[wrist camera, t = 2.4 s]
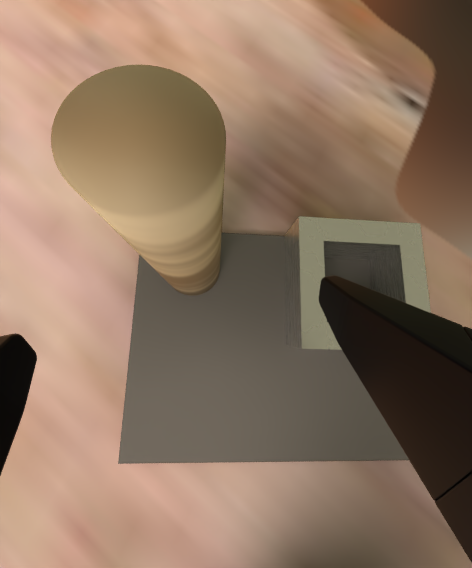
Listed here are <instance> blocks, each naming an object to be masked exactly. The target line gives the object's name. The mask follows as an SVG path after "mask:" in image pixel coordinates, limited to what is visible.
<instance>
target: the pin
mask: <svg viewBox="0 0 472 568" xmlns="http://www.w3.org/2000/svg"><path fill="white" fill-rule="evenodd" d="M51 146H52V152H53V156H54V160H55V162H56V165H57V167H58V169H59V171H60V172H61V174H62V176H63V177H64V179H65V180H66V181H67V182H68V184H69V185H70V186H71V187H72V188H73V189H74V190H75V191H76V192H77V193H78V194H79V195H80V196H81V197H82V198H83V199H84V200H85V201H86V202H87V203H88V204H89V205H90V206H91V207H92V208H93V209H94V210H95V211H96V212H97V213H98V214H99V215H100V216H101V217H102V218H103V219H104V220H105V221H106V222H107V223H108V224H109V225H110V226H111V227H112V228H113V229H114V230H115V231H116V232H117V233H118V234H120V235H121V236H122V237H123V238H124V239H125V240H126V241H127V242H128V243H129V244H130V245H131V246H132V247H133V248H134V249H135V250H136V251H137V252H138V253H139V254H140V255H141V256H142V257H143V258H144V259H145V260H146V261H147V262H148V263H149V264H150V265H151V266H152V267H153V268H154V269H155V270H156V271H157V272H158V273H159V274H160V275H161V276H162V277H163V278H164V279H165V280H166V281H167V282H168V283H169V284H170V285H171V286H172V287H173V288H174V289H175V290H176V291H178V292H180V293H182V294H185V295H190V296H195V295H200V294H203V293H205V292H207V291H209V290H210V289H211V288H212V287H213V286H214V285H215V283H216V282H217V280H218V277H219V272H220V254H221V233H222V212H223V191H224V170H225V149H226V132H225V126H224V122H223V119H222V116H221V113H220V111H219V109H218V107H217V105H216V104H215V102H214V101H213V99H212V98H211V97H210V96H209V95H208V93H207V92H206V91H205V90H204V89H203V88H201V87H200V86H199V85H198V84H197V83H195V82H194V81H192V80H191V79H189V78H188V77H186V76H184V75H182V74H180V73H177V72H175V71H172V70H170V69H166V68H162V67H157V66H151V65H127V66H121V67H115V68H112V69H108V70H105V71H103V72H100V73H98V74H96V75H94V76H92V77H90V78H88V79H87V80H85V81H84V82H82V83H81V84H79V85H78V86H77V87H76V88H75V89H74V90H73V91H72V92H71V93H70V94H69V95H68V96H67V97H66V99H65V100H64V101H63V103H62V104H61V106H60V108H59V109H58V112H57V114H56V116H55V119H54V123H53V126H52V134H51Z"/></svg>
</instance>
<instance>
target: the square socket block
mask: <svg viewBox="0 0 472 568" xmlns="http://www.w3.org/2000/svg"><path fill="white" fill-rule="evenodd" d="M284 246H285V334H286V345H287V346H291V347H296V348H300V349H335V350H342V349H341V347H340V346H339V344H338V342H337V340H336V338H335V336H334V334H333V332H332V330H331V327H330V325H329V323H328V322H327V319H326V317H325V315H324V313H323V310H322V308H321V306H320V304H319V290H320V284H321V280H322V278H323V277H325V264H324V258H344V259H365V260H368V263H369V276H370V289H372V290H374V291H377V292H379V293H382V294H384V295H387V296H389V297H392V298H394V299H397V300H399V301H402V302H404V303H407V304H409V305H412V306H415V307H417V308H420V309H422V310H425V311H427V312H430V313H431V311H430V302H429V294H428V285H427V277H426V269H425V260H424V252H423V244H422V235H421V227H420V224H419V223H402V222H385V221H369V220H352V219H335V218H319V217H302V216H299V217H298V218H297V219H296V221H295V222H294V224H293V225H292V226H291V228H290V229H289V231H288V232H287V233H286V235H285V236H284Z"/></svg>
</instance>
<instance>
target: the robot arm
mask: <svg viewBox="0 0 472 568" xmlns="http://www.w3.org/2000/svg"><path fill="white" fill-rule="evenodd" d="M319 304H320V306H321V308H322V310H323V313H324V315H325V317H326V319H327V321H328V323H329V325H330V327H331V330H332V332H333V334H334V336H335V338H336V340H337V342H338V344H339V346H340V347H341V349H342V351H343V353H344V354H345V356H346V357H347V359H348V361H349V362H350V364H351V366H352V367H353V369H354V371H355V372H356V374H357V375H358V377H359V379H360V380H361V382H362V384H363V385H364V387H365V388H366V390H367V392H368V393H369V395H370V397H371V398H372V400H373V402H374V403H375V405H376V406H377V408H378V410H379V411H380V413H381V415H382V416H383V418H384V420H385V421H386V423H387V424H388V426H389V428H390V429H391V431H392V433H393V434H394V436H395V438H396V439H397V441H398V442H399V444H400V446H401V447H402V449H403V451H404V452H405V454H406V456H407V457H408V459H409V460H410V462H411V464H412V465H413V467H414V469H415V470H416V472H417V473H418V475H419V477H420V478H421V480H422V482H423V483H424V485H425V487H426V488H427V490H428V491H429V493H430V495H431V496H432V498H433V499H434V500H435V503H436V505H437V507H438V508H439V510H440V512H441V513H442V515H443V516H444V518H445V520H446V521H447V523H448V525H449V526H450V528H451V529H452V531H453V533H454V534H455V536H456V538H457V539H458V541H459V543H460V544H461V546H462V547H463V549H464V551H465V552H466V554H467V556H468V557H469V559H470V561H471V562H472V329H470V328H468V327H462V325H460V324H457V323H455V322H452V321H450V320H447V319H445V318H442V317H440V316H437V315H435V314H432V313H430V312H427V311H425V310H422V309H420V308H417V307H415V306H412V305H409V304H407V303H404V302H402V301H399V300H397V299H394V298H392V297H389V296H387V295H384V294H382V293H379V292H377V291H374V290H372V289H369V288H367V287H364V286H362V285H359V284H357V283H354V282H351V281H349V280H346V279H344V278H341V277H339V276H336V275H332V276H326V277H323V278H322V280H321V284H320V290H319ZM36 361H37V356H36V352H35V351H34V350H33V348H32V347H31V346H30V345H29V344H28V343H27V341H26V340H25V339H24V338H23V337H22V336H21V335H19V334H10V335H4V336H0V475H1V472H2V470H3V467H4V464H5V462H6V459H7V456H8V453H9V451H10V448H11V445H12V442H13V440H14V437H15V434H16V432H17V429H18V426H19V423H20V421H21V418H22V415H23V412H24V408H25V405H26V401H27V397H28V393H29V389H30V385H31V381H32V377H33V373H34V369H35V365H36Z"/></svg>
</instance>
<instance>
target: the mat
mask: <svg viewBox="0 0 472 568" xmlns="http://www.w3.org/2000/svg"><path fill="white" fill-rule="evenodd" d="M324 264H325V277H326V276H332V275H336V276H339V277H341V278H344V279H346V280H349V281H351V282H354V283H357V284H359V285H362V286H364V287H367V288H369V289H370V276H369V263H368V260H365V259H344V258H324ZM327 322H328V321H327ZM376 460H409V459H408V457H407V456H406V454H405V452H404V451H403V449H402V447H401V446H400V444H399V442H398V441H397V439H396V438H395V436H394V434H393V433H392V431H391V429H390V428H389V426H388V424H387V423H386V421H385V420H384V418H383V416H382V415H381V413H380V411H379V410H378V408H377V406H376V405H375V403H374V402H373V400H372V398H371V397H370V395H369V393H368V392H367V390H366V388H365V387H364V385H363V384H362V382H361V380H360V379H359V377H358V375H357V374H356V372H355V371H354V369H353V367H352V366H351V364H350V362H349V361H348V359H347V357H346V356H345V354H344V353H343V351H342V350H335V349H300V348H296V347H291V346H287V345H286V334H285V246H284V236H271V235H253V234H234V233H221V254H220V272H219V277H218V280H217V282H216V283H215V285H214V286H213V287H212V288H211V289H210V290H209V291H207V292H205V293H203V294H200V295H195V296H190V295H185V294H182V293H180V292H178V291H176V290H175V289H174V288H173V287H172V286H171V285H170V284H169V283H168V282H167V281H166V280H165V279H164V278H163V277H162V276H161V275H160V274H159V273H158V272H157V271H156V270H155V269H154V268H153V267H152V266H151V265H150V264H149V263H148V262H147V261H146V260H145V259H144V258H143V257H142V256H141V255H139V265H138V274H137V284H136V294H135V304H134V314H133V324H132V333H131V343H130V353H129V363H128V373H127V383H126V393H125V402H124V412H123V422H122V432H121V442H120V452H119V461H118V464H124V463H208V462H292V461H376Z"/></svg>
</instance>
